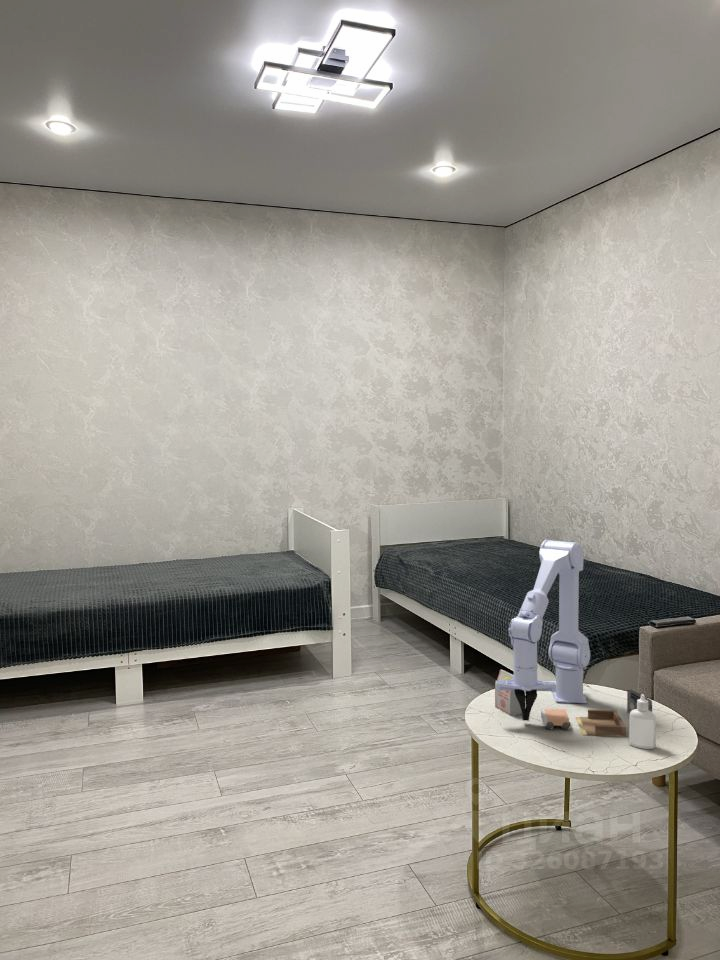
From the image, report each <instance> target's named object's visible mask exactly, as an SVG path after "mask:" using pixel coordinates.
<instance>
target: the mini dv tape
mask: <svg viewBox="0 0 720 960" xmlns="http://www.w3.org/2000/svg"><path fill="white" fill-rule="evenodd" d="M626 691H627V700H626V701H627V704H626V706H627V707H626V708H627V709H626V713H628V714H629V715H630V712H631V711H632V710H634V709H637V700H638V699H640V698H641V693H638V692H637V691H635V690H633V689H627V690H626ZM645 699H646V700H647V701H648V710H649V711H651V712H652V713H653V701H652V700H651V699H649V698H648V697H646V696H645Z"/></svg>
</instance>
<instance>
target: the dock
mask: <svg viewBox="0 0 720 960" xmlns="http://www.w3.org/2000/svg"><path fill="white" fill-rule="evenodd" d="M575 719H576V721H577V725H578V727H579V729H580V732H581V734H582V736H592V737H593V736H596V737H599V736H600V737H601V736H602V737H623V738H624V737H625V738H626V737H627V726H626V724H625V723H624V721H623V719H622V717H621V715H620V714H619V712H618V710H616V709H590V708H589V709H587V716H579V717H578V716H575Z"/></svg>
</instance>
